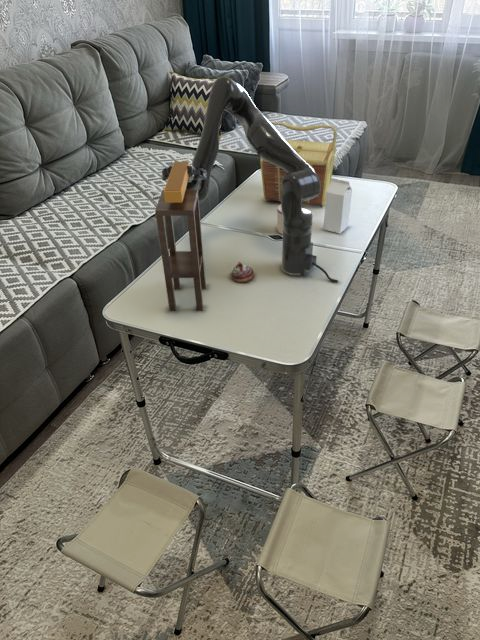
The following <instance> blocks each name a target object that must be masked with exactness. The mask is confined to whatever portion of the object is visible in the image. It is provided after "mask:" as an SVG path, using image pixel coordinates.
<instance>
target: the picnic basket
mask: <svg viewBox="0 0 480 640" xmlns="http://www.w3.org/2000/svg"><path fill="white" fill-rule="evenodd" d="M269 122H270V123H271V124H272V125H273V126H282V127H284V128H286V129H287V130H288V129H289V130H291V131H298V132H310V131H314V130H318V129H331V130H332V131H333V137H332V142H324V141H323V142H322V141H309V140H296V139H294V140H293V139H284V140H285V141H286V142H287V143H288V144H289V146H290V147H291V148H292V149H293V150H294V151H295V152H296V153H297V154H298V155H299V156H300V157H301V158H302V159H303V160H304V161H305V162H306V163H307V164H308V165H309V166H310V167H311V168H312V169H313V170H314V171H315V172H316V174H317V175H318V177H319V180H320V183H321V191H320V193H319V195H318V196H316V197H315V198H312V199H310V200H307V201H303V202H301V204H307V205H318V206H322V207H325V202H326V191H327V189H328V187H329V184H330V182H331V178H333V170H334V165H335V164H334V163H335V157H336V151H337V146H338V145H337V137H338V131H337V130H338V129H337V128H336V127H335V126H334V125H329V124H317V125H315V124H314V125H308V126H300V125H293V124H291V123H286V122H280V121H269ZM259 164H260V173H261V181H262V193H263V198H264V201H265V202H268V201H273V202H281V181H282V178H283V176H284V175H285V174H287V172H286V171H285V170H284V169H282V168H280V167H278V166H276V165H274V164H272V163H270V162H268V161H266V160H264V159H262V158H261V157H260V160H259Z"/></svg>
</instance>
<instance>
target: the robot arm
mask: <svg viewBox="0 0 480 640" xmlns="http://www.w3.org/2000/svg"><path fill="white" fill-rule="evenodd" d="M224 111H225V112H227V113H229V114H230V115H231V116H233V118H235V120H237V122H238V123H239V124H240V125H241V126H242V128H243V130H244V131H243V132H244V136H245V138H246V141H247V142H248V144H249V146H251V148H252V149H253V150H254V152H255V154H257V155H258V156H259V157H260V158H262V159H264V160H266V161H268V162H270V163H272V164H274V165H276V166H278V167H280V168H282V169H284V170H285V171H286V172H287V174H285V175H284V176H283V178H282V181H281V201H280V205H281V210H282V215H283V234H282V244H281V245H282V247H281V249H282V252H281V270H282V272H283V273H284V274H286V275H289V276H294V277H295V276H297V277H298V276H301V277H305V276H306V275H307V273H309V271H311V270H312V269H313V268H314V267H316V268H317V269H319V270H320V271H322V273H323V274H325V277H326V278H327V279H328V280H329V281H331V282H334V283H338V282H339V280H337V279H334V278H332V277H330V275H329V274H328V272H327V271H326V270H325V269H324V268H323V267H322V266H320V265H319V264H317V255H315V254H313V251H314V243H313V242H312V231H313V227H312V226H313V213H312V212H311V210H309V209H306V208H304V207H302V203H301V202H303V201H307V200H310V199H312V198H315V197H316V196H318V195H319V193H320V191H321V183H320V180H319V177H318V175H317V174H316V172H315V171H314V170H313V169H312V168H311V167H310V166H309V165H308V164H307V163H306V162H305V161H304V160H303V159H302V158H301V157H300V156H299V155H298V154H297V153H296V152H295V151H294V150H293V149H292V148H291V147H290V146H289V144H288V143H287V142H286V141H285V140H286V139H285V138H284V137H283V136H282V135H281V133H280V132H279V130H277V128H276V127H275V125H272V124H271V123H270V122H271V121H270V120H269V119H268V118H267V117H266V116H265V115H264V114H263V113H262V111H260V110H259V108H258V107H256V105H255V103H254V102H253V100H252V99H251V96H249V94H248V92H247V91H246V89H245V88H244V87H243V86H242V85H241V84H240V83H238V82H236V81H235V80H234V79H232V78H230V77H228V76H223V75H222V76H219V77H218V78H216V80H215V81H214V82H213V84H212V86H211V89H210V92H209V97H208V101H207V106H206V110H205V117H204V121H203V127H202V131H201V135H200V138H199V142H198V145H197V147H196V150H195V153H194V155H193V158H192V161H191V165H190V166H187V172H188V175H189V179H188V182H187V186H186V190H198V198H199V202H203V201H206V199H207V198H208V196H209V193H210V182H211V175H212V172H213V171H212V169H213V167H214V165H215V163H216V160H217V157H218V153H219V150H220V125H221V120H222V117H223V114H224ZM172 166H173V165H169V166H167V167H163V169H162V170H161V181H168V178H169V175H170V172H171V169H172Z"/></svg>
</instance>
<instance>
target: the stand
mask: <svg viewBox="0 0 480 640" xmlns="http://www.w3.org/2000/svg"><path fill="white" fill-rule="evenodd" d="M154 212H155V219H156V225H157V232H158V233H157V234H158V240H159V241H158V242H159V247H160V254H161V261H162V269H163V275H164V282H165V288H166V295H167V302H168V310H169V312H175V311H177V304H176V295H175V290H180V289H181V279H193V288H194V297H195V306H196V311H198V312H199V311H204V301H203V300H204V299H203V291H202V290H204V289H205V290H206V287H207V284H206V283H207V281H206V269H205V259H204V248H203V234H202V223H201V222H202V221H201V210H200V201H199V198H198V190H185V194H184V198H183V202H182V203H165V198H164V189H162V190H161V193H160V196H159V199H158V201H157V205H156V207H155V210H154ZM183 216H184V217H186V219H187V228H188V237H189V246H190V247H189V248H190V250H177V245H176V237H175V229H174V221H173V217H183Z"/></svg>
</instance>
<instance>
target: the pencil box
mask: <svg viewBox="0 0 480 640" xmlns="http://www.w3.org/2000/svg"><path fill="white" fill-rule="evenodd" d="M171 166H172V169H171V172H170V175H169V178H168V180H166V184H165V187H164V189H163V190H164V198H165V203H182V202H183V198H184V194H185V190H186V186H187V182H188V179H189V175H188V172H187V166H191V165H190V161H173V163H172V165H171Z"/></svg>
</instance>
